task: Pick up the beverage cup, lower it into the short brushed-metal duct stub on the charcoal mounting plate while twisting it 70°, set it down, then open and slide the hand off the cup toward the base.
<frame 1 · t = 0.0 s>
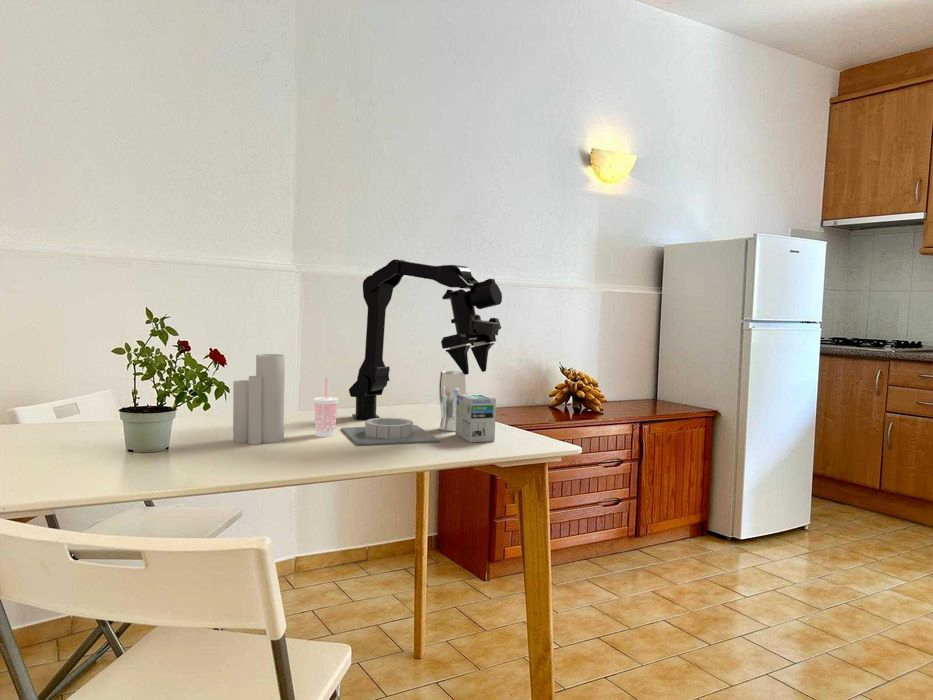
hand: (475, 373, 188), 15 cm above the table, tool pointing down, fingers open, 9 cm apart
light bulb box: (474, 439, 182), on the table
beer glass: (450, 430, 193), on the table
vase: (259, 441, 171), on the table
beverage cup: (325, 435, 180), on the table
duct stub: (388, 435, 182), on the table
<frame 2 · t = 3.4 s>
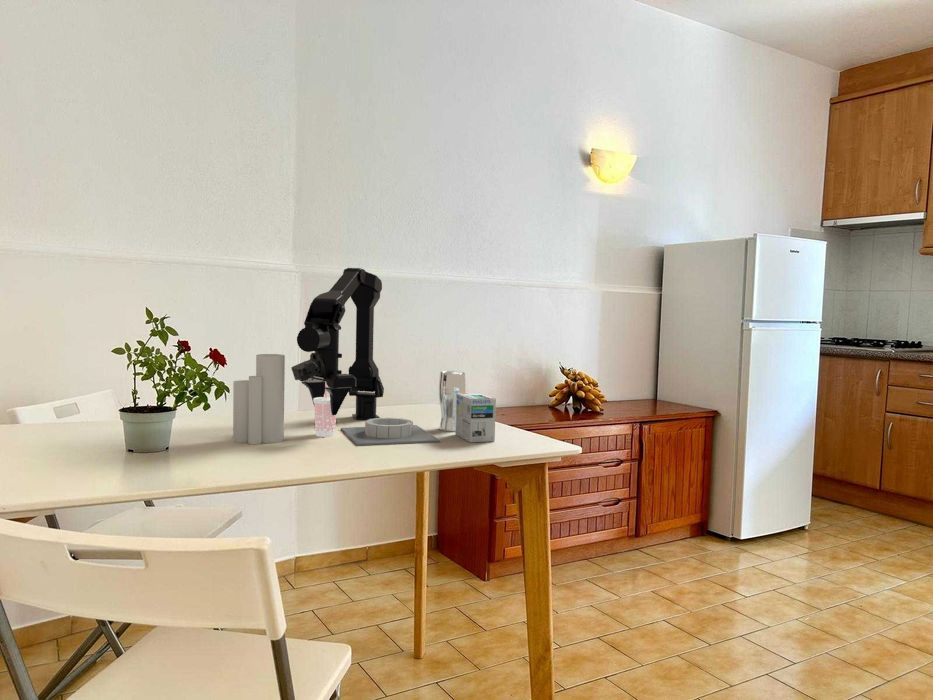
hand: (325, 412, 180), 6 cm above the table, tool pointing down, fingers closed on beverage cup, 8 cm apart
beverage cup: (325, 435, 180), on the table, touching gripper
everything else where it was.
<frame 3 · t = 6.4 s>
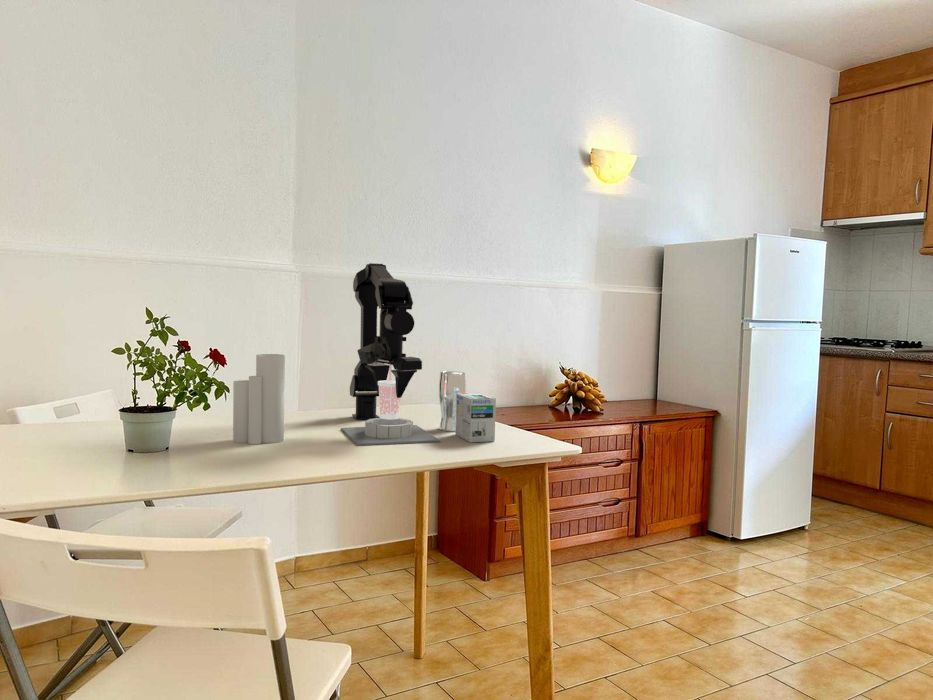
hand: (389, 395, 181), 10 cm above the table, tool pointing down, fingers closed on beverage cup, 7 cm apart
beverage cup: (389, 418, 181), point 4 cm above the table, touching gripper
everything else where it was.
when the fingers open (6 cm above the table, at t = 9.3 s): beverage cup stays where it is, resting on duct stub.
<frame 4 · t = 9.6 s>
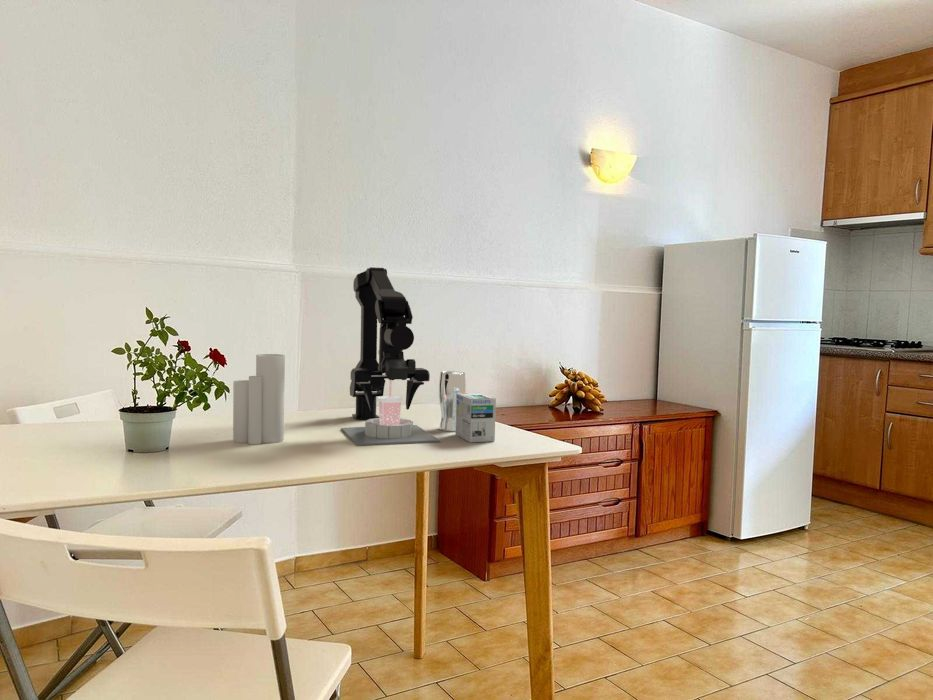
hand: (389, 409, 181), 6 cm above the table, tool pointing down, fingers open, 9 cm apart
beverage cup: (389, 434, 182), resting on duct stub
everything else where it was.
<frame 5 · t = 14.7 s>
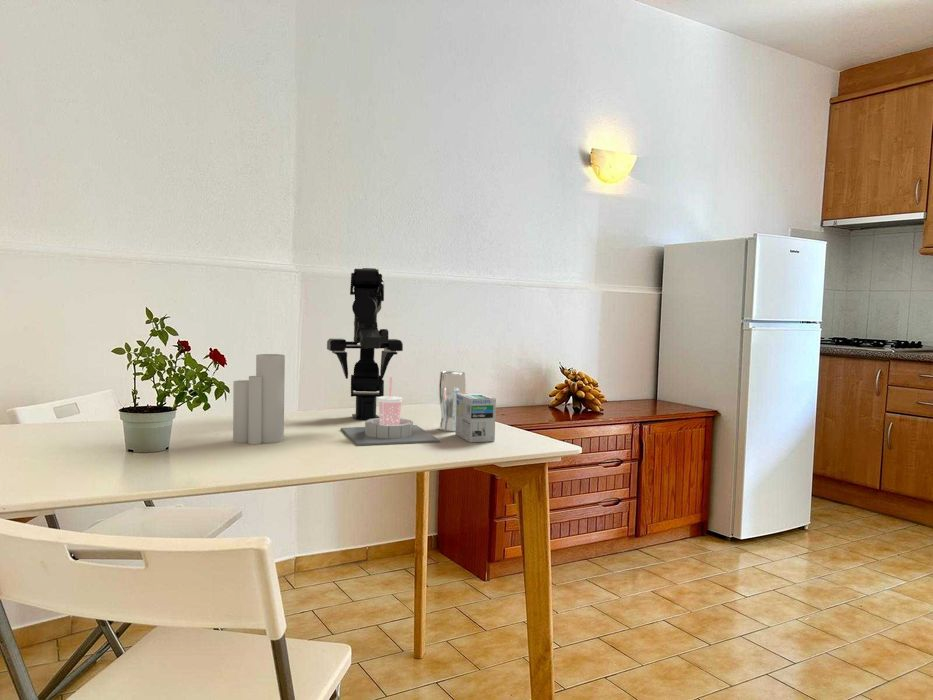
hand: (364, 378, 189), 13 cm above the table, tool pointing down, fingers open, 9 cm apart
nothing on the table moved.
at the end: beverage cup 0.1 cm from the duct stub (horizontally); beverage cup resting on duct stub; beverage cup tilted 0° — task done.
